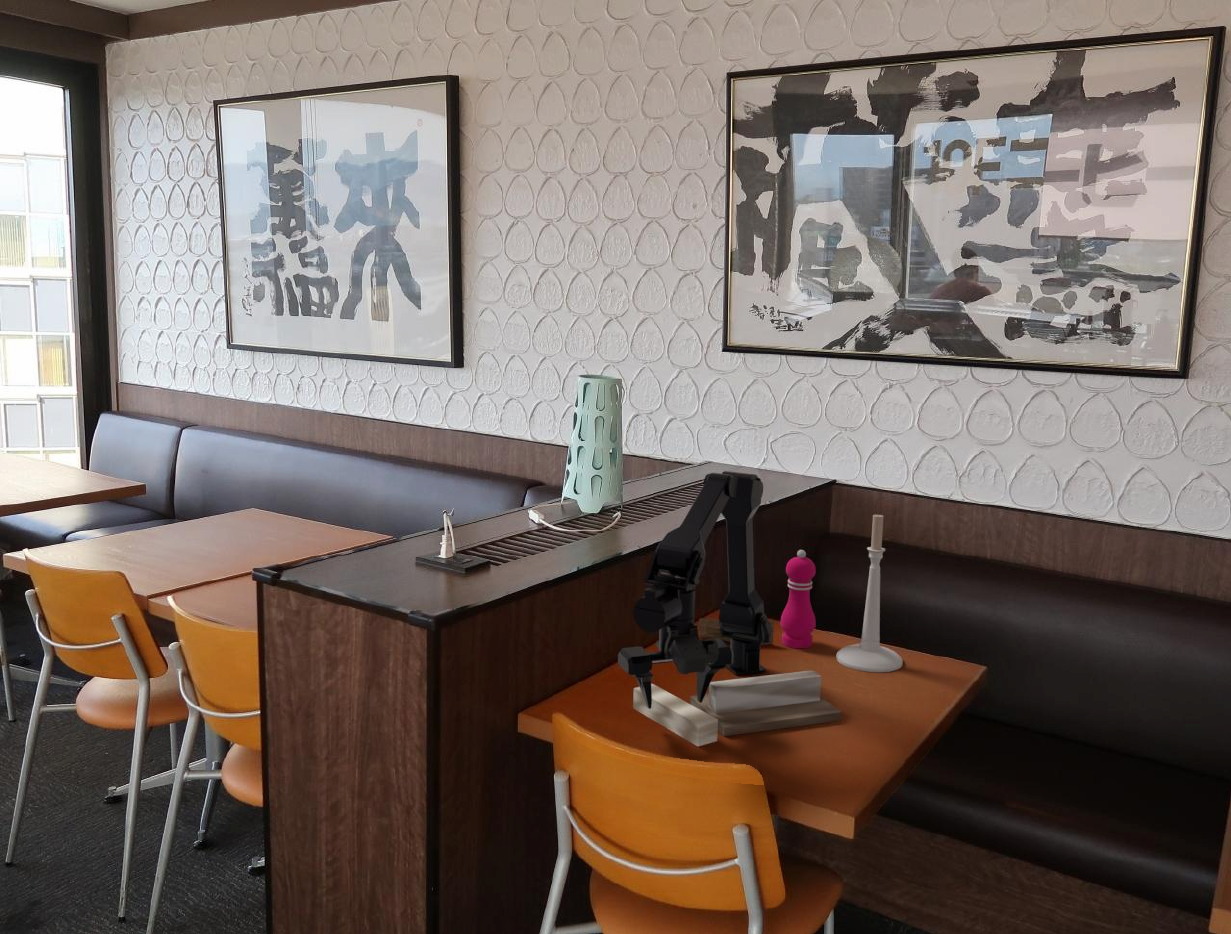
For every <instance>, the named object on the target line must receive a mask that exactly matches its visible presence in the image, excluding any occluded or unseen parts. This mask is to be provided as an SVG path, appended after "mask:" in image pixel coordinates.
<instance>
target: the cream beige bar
mask: <svg viewBox="0 0 1231 934" xmlns="http://www.w3.org/2000/svg"><path fill="white" fill-rule="evenodd" d="M651 691H652V705H651V709H649V708H648V707H647V706H646V703H645V700H644V697H643V695H642V692H641V689H640V686H637V687H634V688H633V702H632V703H633V704H632V707H633V708H632V709H634V710H635V711H637V712H639V713H640V714H642V715H644V716H645V717H647V718H649V719H650V720H652V721H654V722H656V723H657V724H659V725H661V726H662V727H664V728H666V729H667V730H669V731H671V732H672V733H674V734H676V735H677V736H679V737H681V738H682V739H684V740H686V741H688V742H689V743H691V744H693V745H695V747H696V746H697V747H700V746H701V747H702V746H704V745H708V744H711V743H715V742H718V732H719V731H718V719H716V718H714V717H713V716H711V715H709V714H707V713H705V712H703V711H702V710H700V709H698V708H696V707H694V706H692V705H691V704H690V702H689V703H688V702H686V701H685V700H683V699H681V698H680V697H678V696H675V695H674V694H672V693H670V692H668V691H667V690H665V689H663V688H661V687H660V686H657V685H656V684H654V683H651Z"/></svg>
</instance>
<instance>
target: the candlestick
mask: <svg viewBox="0 0 1231 934" xmlns="http://www.w3.org/2000/svg"><path fill="white" fill-rule="evenodd" d="M883 530H884V515H882V514H879V513H877V514H873V515H872V528H871V541H870V544H871V546H868V547H866V549H867V551H868V558H869V559H870V566H869V573H868V582H867V589H866V596H865V597H866V599H865V606H864V607H865V608H864V613H863V614H864V615H863V624H862V630H861V631H862V632H861V640H860V643H856V644H851V645H846V646H844V647H842V648H840V649H839V650H838V651H836V652H837V653H836V655H835V656H836V657H835V658H836V661H837V662H839V664H840V665H842V666H845V667H847V668H849V669H853V670H856V671H862V672H867V673H889V672H893V671H896V670H899V669H901V668H902V666H903V661H904V660H903V658H902V657H901V656H900V655H899V653H897V652H896V651H894V650H892V649H890V648H888V647H886V646H882V645H881V643H880V640H881V638H880V637H881V636H880V631H881V630H880V623H881V622H880V621H881V617H880V614H881V609H880V608H881V605H880V604H881V594H880V593H881V567H880V563H881V560H882V559H883V557H884V556H883V553H884V552H886V548H884V547H882V545H883V532H884V531H883Z"/></svg>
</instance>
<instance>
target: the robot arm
mask: <svg viewBox="0 0 1231 934" xmlns="http://www.w3.org/2000/svg"><path fill="white" fill-rule="evenodd" d="M763 493H764V483H763V481H762V479H761V478H760V477H759V476H758V475H757V474H756V473H755V474H754V473H745V472H736V471H729V470H728V471H727V470H724V471H722V473H718V472H711V473H707V474H706V475H705V476H704V479H703V485H702V488H701V489H700V491H699V493H698V494H697V497H696V498H695V499H694V501H693V503H692V505H691V507H690V508H689V511H688V512H687V513H686V515H685V518H684V519H683V521H682V522H681V524H680V525H679V526H678V527H677V528H674V529H673V530H671V531H669V532H667V533H666V535H665V536H663V538H662V540H661V541H660V542H659V544H658V545H657V546H656V547H655V550H654V552H653V555H652V557H651V560H650V563H649V564H650V565H649V568H648V569H647V570H648V571H647V572H646V573H647V574H646V576H645V579H644V584H645V585H651V587H647V588H645V590H644V595H643V596H642V597H641V598H640V597H639V599H637V600H636V602H635V604H634V606H633V609H632V616H633V617H632V618H633V620H634V622H635V624H636V625H637V626H638V628H639V629H641V630H642V631H644V632H647V633H656V632H658V631H659V633H658V634H659V636H658V639H659V640H656V648H658V651H650V652H648V651H647V650H646V649H645V648H644V647H643V646H639V645H638V646H632V647H631V646H629V647H622V648H621V649H620V651H618V654H617V664H618V665H619V667H621V668H622V669H623V670H624V671H625V672H626V673H627V675H630V676H632V677H634V678H635V679H636V681H637V684H638V687H640V689H641V692H642V695H643V697H644V700H645V703H646V706H647V707H648V708H649V709H651V705H652V691H651V684H652V679H653V677H654V674H653V673H652V671H651V670H652V669H653V665H657V664H665V663H666V664H667V663H674V665H675V667H676V670H677V672H678V673H679V674H681V675H688V674H691V673H693V674H694V673H696V695H697V700H698V701H699V702H702V701H703V699H704V696H705V694H707V691H708V690H709V684H710V682H712V680H713V678H714V676H715V674H716V673H718V672H719V671H721V670H724V669H726V668H727V669H728V670H730V672H732V673H733V674H735V675H736V676H743V675H749V674H750V675H752V674H759V673H765V672H767V668H766V667H764V666H763V665H762V664H761V646H762V645H764V644H763V643H769V642H770V637H771V631H772V627H771V625H770V623H769V621H770V620H769V618H768V616H767V615H766V614H765V607H764V601H763V599H762V598H761V596H760V594H759V593H758V591H757V590H756V587H755V567H754V566H755V565H754V564H755V563H754V562H755V561H754V557H755V556H754V529H753V527H754V525H753V523H754V522H753V519H754V518H753V517H754V516H755V514H756V513H757V510H758V509H759V507H761V504H762V497H763ZM721 515H722V516H723V518H724V520H725V521H726V523H725V524H726V547H727V550H726V551H727V571H728V572H727V574H728V576H727V577H728V593H727V594H726V596H725V597H724V599H723V601H722V602H721V603H720V605H719V607H718V609H719V614H718V620H719V625H720V632H721V637H727V638H731V642H730V645H728V643H726V642H725V641H722V640H720V639H719V638H717V639H707V638H706V639H705V638H702V639H700V638H699V628H698V625H697V624H696V623H695V612H696V611H695V609H696V608H695V607H696V586H697V585H698V584H700V576H701V573H702V571H703V569H704V566H705V560H706V558H707V555H706V550H705V544H706V542H707V539H708V537H709V536H710V534H711V532H712V530H713V529H714V526H715V524H716V523H717V522H718V520H719V517H720V516H721ZM659 573H660V574H659Z"/></svg>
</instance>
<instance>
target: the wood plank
mask: <svg viewBox="0 0 1231 934" xmlns="http://www.w3.org/2000/svg"><path fill="white" fill-rule="evenodd" d="M768 621H769V623H770V625H771V627H772V631H771V637H770V642H769V643H763V644H762V645H768V644H773V645H774V631H775V630H774V629H775V621H773V620H771V621H770V620H768ZM698 622H699V623H698V636H699V637H701V638H700V639H707V638H708V639H717V638H719V639H720V640H722V641H723V642H726V641H727V642H729V643H731V638H727V637H721V632H720V625H719V618H718V619H717V618H703V617H701V618H699V619H698Z"/></svg>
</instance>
